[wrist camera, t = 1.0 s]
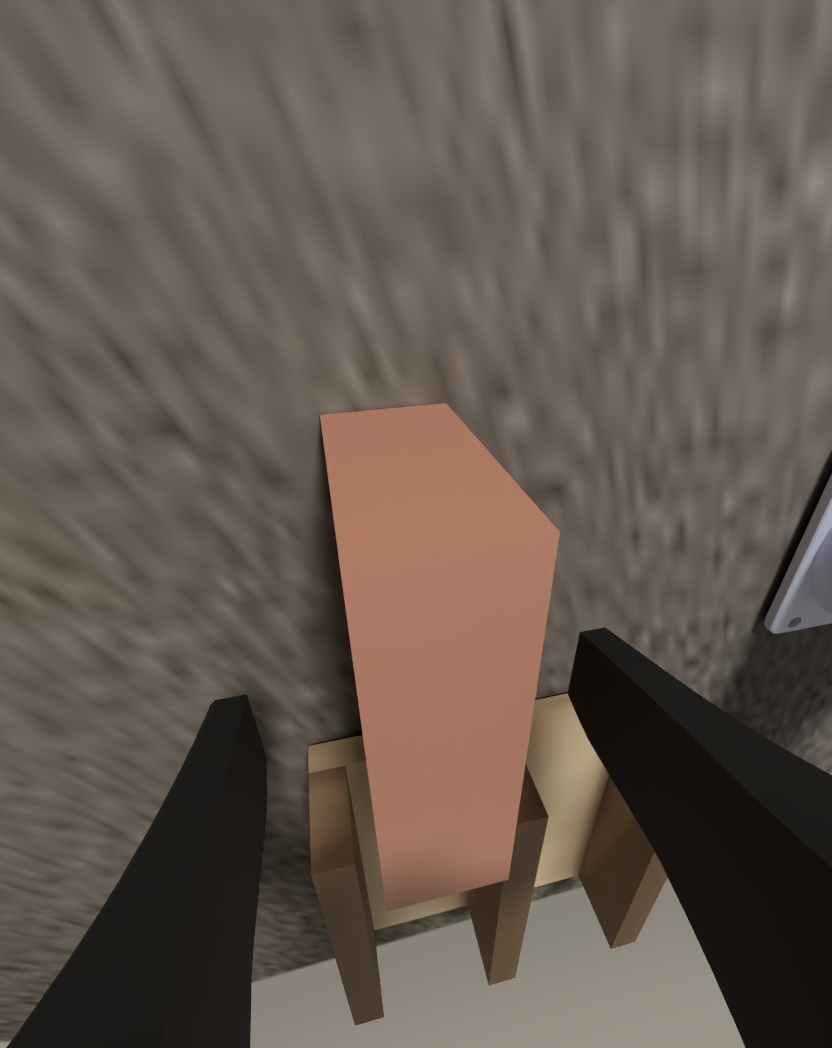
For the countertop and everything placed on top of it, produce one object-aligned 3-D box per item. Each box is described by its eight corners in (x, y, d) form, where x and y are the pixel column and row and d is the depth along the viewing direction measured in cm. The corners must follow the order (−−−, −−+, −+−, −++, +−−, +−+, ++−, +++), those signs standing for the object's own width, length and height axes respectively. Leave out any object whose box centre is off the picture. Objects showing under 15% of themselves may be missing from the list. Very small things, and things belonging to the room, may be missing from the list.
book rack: (643, 677, 19) (718, 774, 15) (590, 848, 26) (634, 941, 22) (307, 746, 17) (311, 874, 13) (346, 912, 23) (355, 1025, 20)
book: (445, 402, 12) (559, 532, 7) (444, 686, 17) (508, 879, 12) (320, 414, 11) (340, 564, 6) (359, 703, 16) (386, 911, 11)
